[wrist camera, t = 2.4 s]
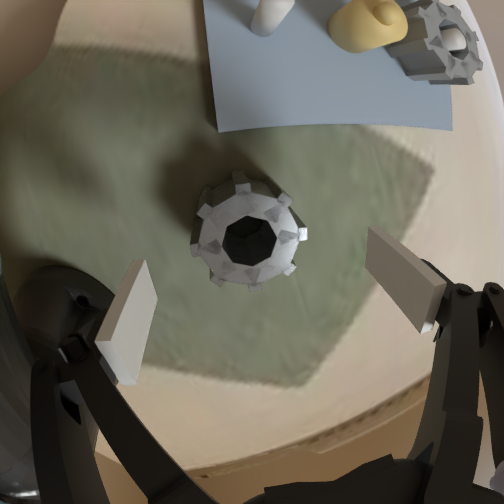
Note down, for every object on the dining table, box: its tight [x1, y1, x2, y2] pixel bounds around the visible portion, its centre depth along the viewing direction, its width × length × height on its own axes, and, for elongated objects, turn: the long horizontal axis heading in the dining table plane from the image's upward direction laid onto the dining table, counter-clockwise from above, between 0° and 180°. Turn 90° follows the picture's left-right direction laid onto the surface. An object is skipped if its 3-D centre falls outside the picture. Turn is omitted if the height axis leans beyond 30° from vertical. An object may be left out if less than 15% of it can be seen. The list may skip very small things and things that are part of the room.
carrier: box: [203, 0, 483, 133], centre depth 13 cm, size 22×16×7 cm
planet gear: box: [190, 170, 307, 292], centre depth 21 cm, size 7×8×5 cm
